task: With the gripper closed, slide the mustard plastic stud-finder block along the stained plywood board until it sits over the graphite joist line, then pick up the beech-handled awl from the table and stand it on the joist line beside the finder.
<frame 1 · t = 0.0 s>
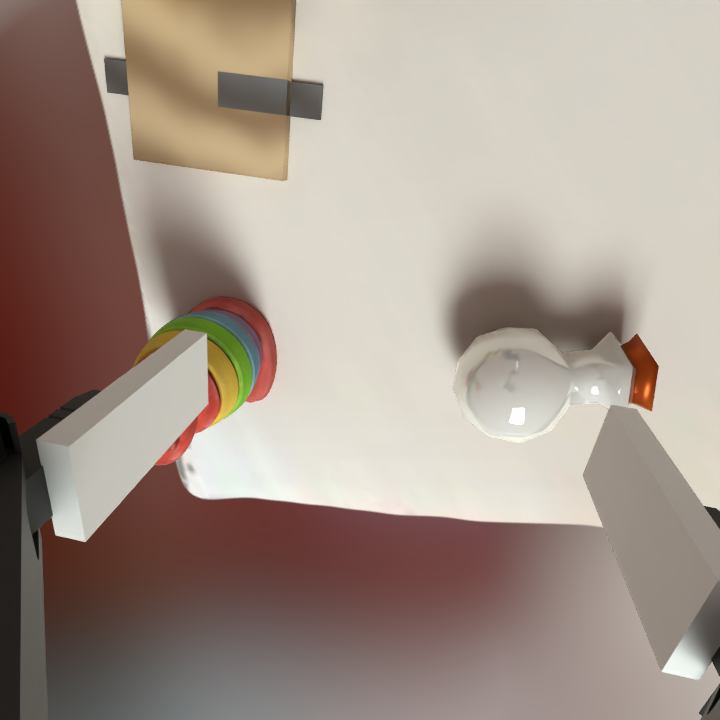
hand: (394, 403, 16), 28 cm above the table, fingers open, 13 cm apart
stacking bear: (231, 342, 48), on the table
potion bottle: (538, 356, 44), on the table
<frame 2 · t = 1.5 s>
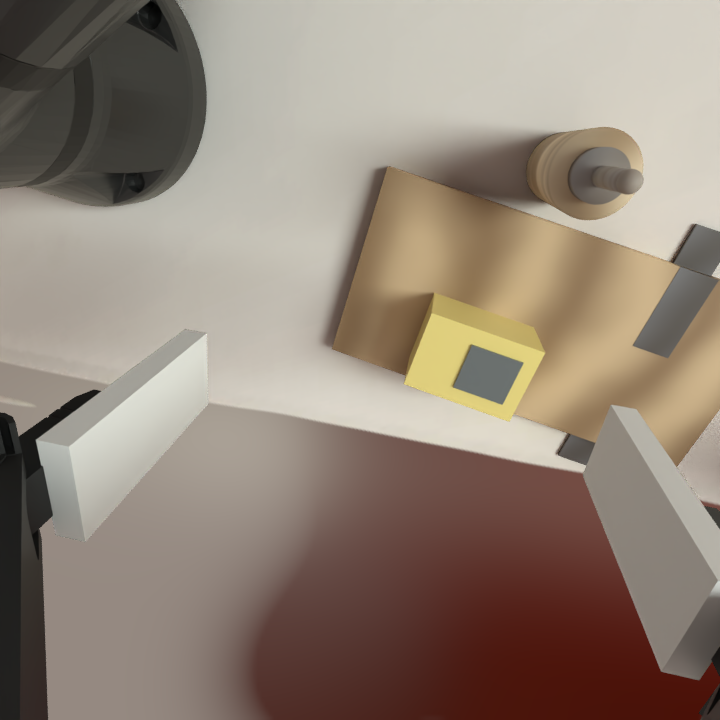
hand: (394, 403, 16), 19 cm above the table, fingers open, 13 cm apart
awl: (560, 168, 30), on the table
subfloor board: (538, 323, 34), on the table
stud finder: (469, 342, 34), point 1 cm above the table, touching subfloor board
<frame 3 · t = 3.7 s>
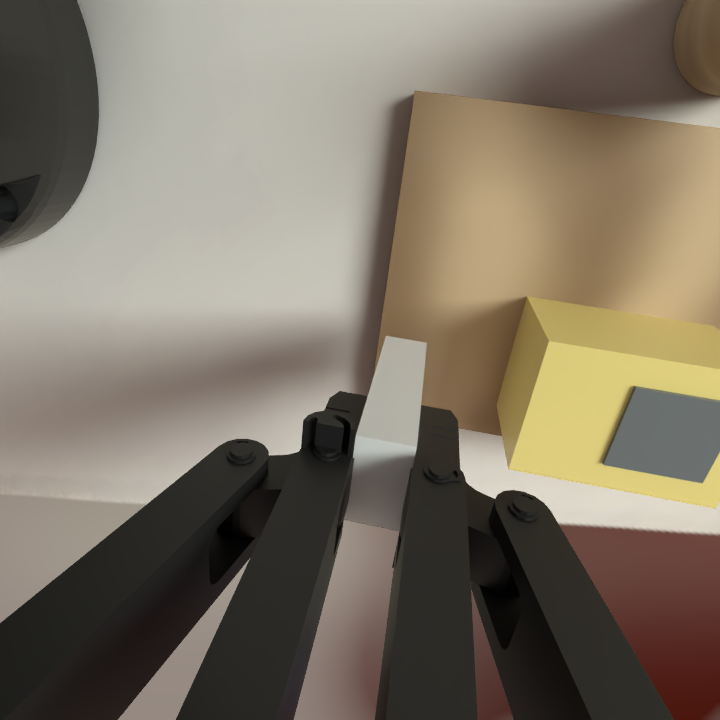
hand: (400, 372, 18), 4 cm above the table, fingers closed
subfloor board: (712, 317, 19), on the table
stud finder: (597, 368, 20), point 1 cm above the table, touching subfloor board
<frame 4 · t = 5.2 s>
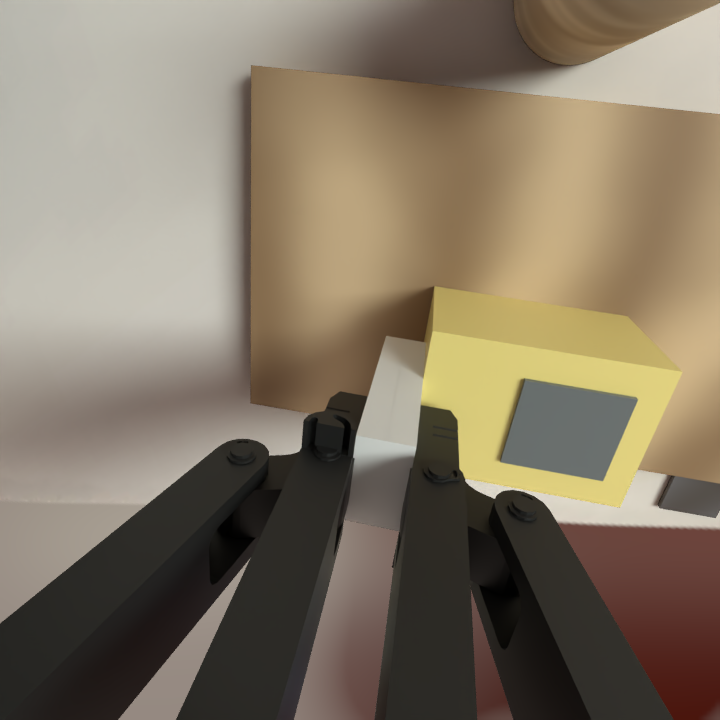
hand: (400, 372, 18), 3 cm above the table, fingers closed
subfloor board: (587, 298, 19), on the table
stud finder: (512, 361, 19), point 1 cm above the table, touching gripper, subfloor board
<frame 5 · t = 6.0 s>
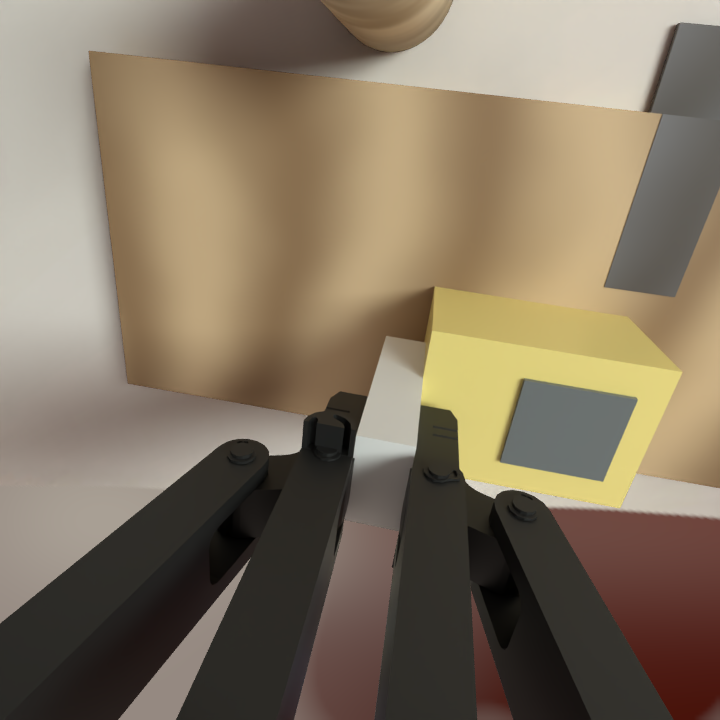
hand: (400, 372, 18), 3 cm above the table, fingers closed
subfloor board: (436, 280, 19), on the table
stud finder: (512, 361, 19), point 1 cm above the table, touching gripper
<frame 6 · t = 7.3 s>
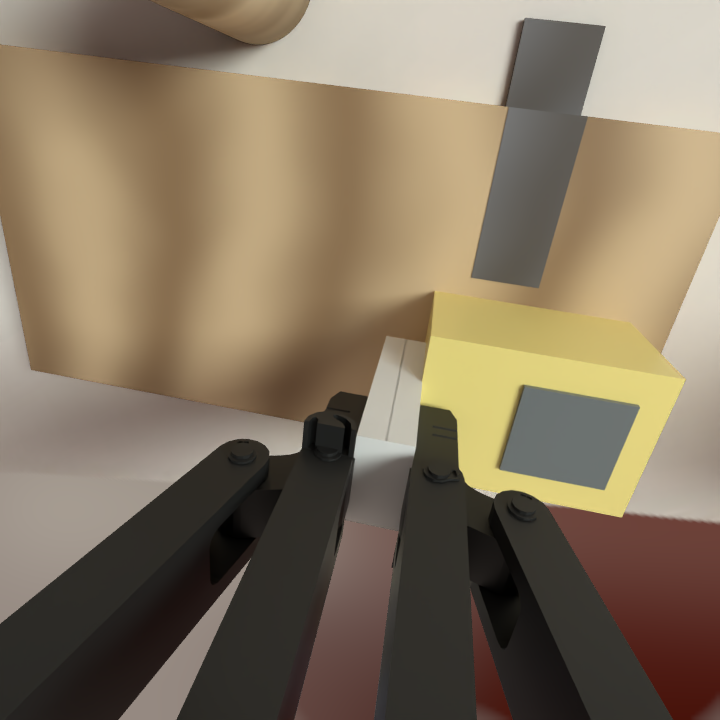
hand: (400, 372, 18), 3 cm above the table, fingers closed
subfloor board: (320, 271, 20), on the table
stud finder: (513, 367, 19), point 1 cm above the table, touching gripper, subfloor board
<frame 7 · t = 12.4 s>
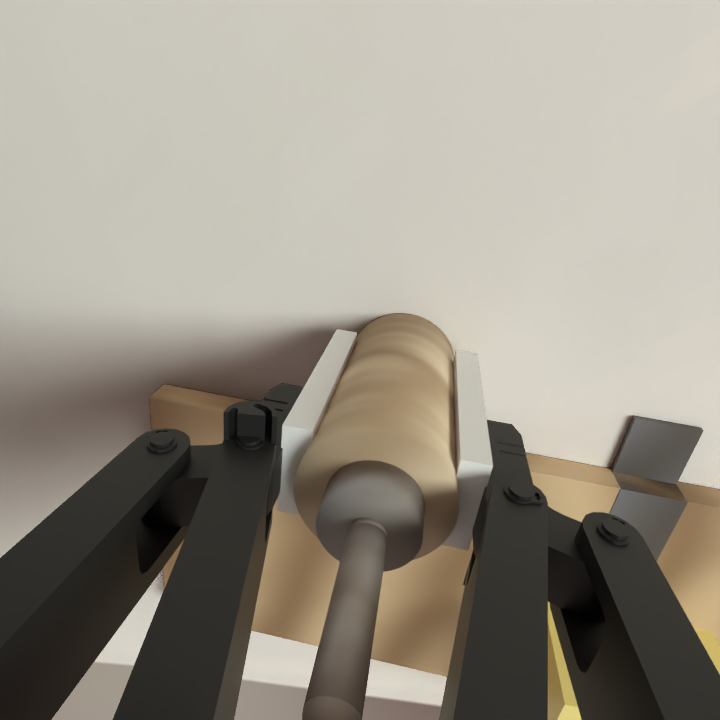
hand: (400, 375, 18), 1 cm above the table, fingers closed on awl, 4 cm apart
awl: (401, 362, 19), on the table, touching gripper
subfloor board: (435, 556, 23), on the table
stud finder: (606, 650, 22), point 1 cm above the table, touching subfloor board
when the fingers open (4 cm above the table, at t = 16.6 s): awl stays where it is, resting on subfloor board.
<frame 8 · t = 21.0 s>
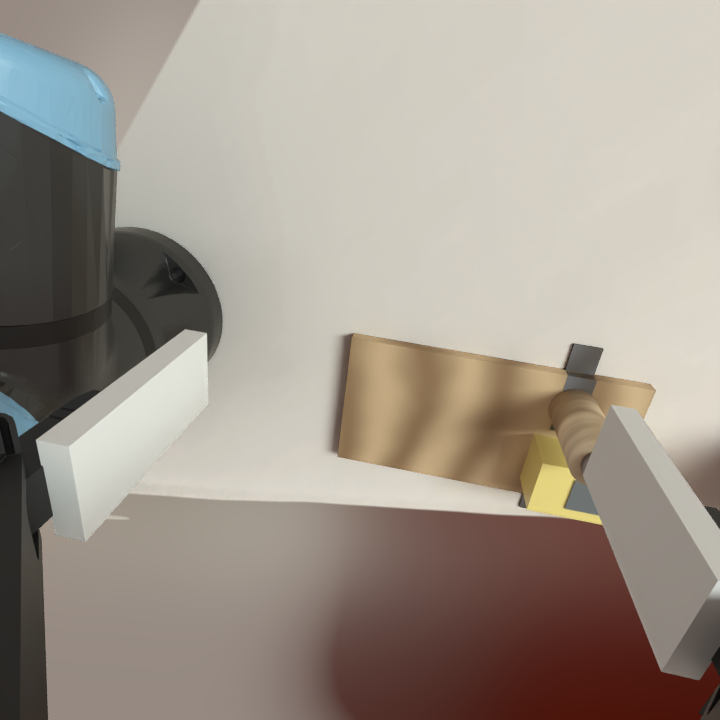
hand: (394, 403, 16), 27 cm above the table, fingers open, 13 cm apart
awl: (572, 409, 43), point 1 cm above the table, touching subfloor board
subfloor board: (481, 419, 46), on the table
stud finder: (565, 463, 45), point 1 cm above the table, touching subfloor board
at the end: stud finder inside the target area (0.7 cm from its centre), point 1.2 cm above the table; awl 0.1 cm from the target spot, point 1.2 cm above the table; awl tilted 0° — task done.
